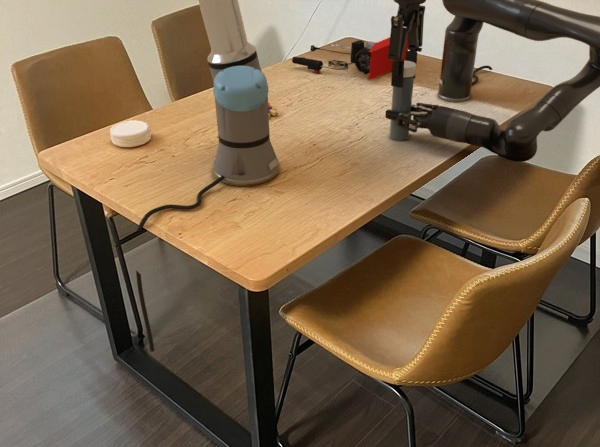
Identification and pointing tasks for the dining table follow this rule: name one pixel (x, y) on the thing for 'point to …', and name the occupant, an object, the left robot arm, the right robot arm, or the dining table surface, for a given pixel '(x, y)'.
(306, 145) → the dining table surface
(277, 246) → the dining table surface
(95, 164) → the dining table surface
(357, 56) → the electric hoist
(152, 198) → the dining table surface
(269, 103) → the toy figure
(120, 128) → the white round container
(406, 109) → the grey cylinder
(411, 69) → the lid
